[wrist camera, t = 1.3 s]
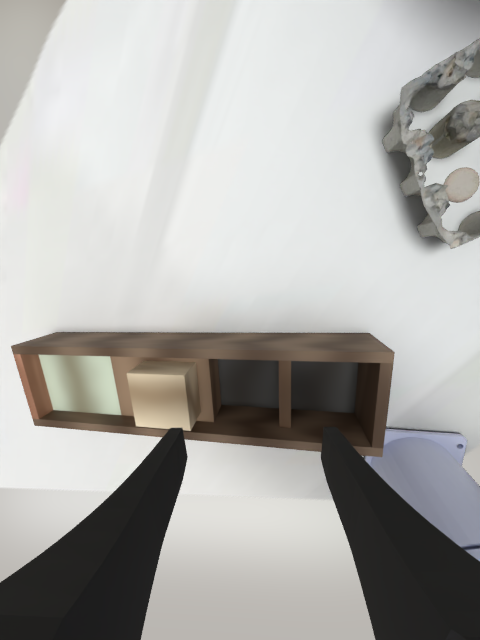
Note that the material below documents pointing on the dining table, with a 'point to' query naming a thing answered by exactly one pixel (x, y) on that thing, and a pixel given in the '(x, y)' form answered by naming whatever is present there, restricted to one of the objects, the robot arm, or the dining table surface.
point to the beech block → (165, 394)
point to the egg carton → (440, 143)
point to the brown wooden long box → (219, 384)
